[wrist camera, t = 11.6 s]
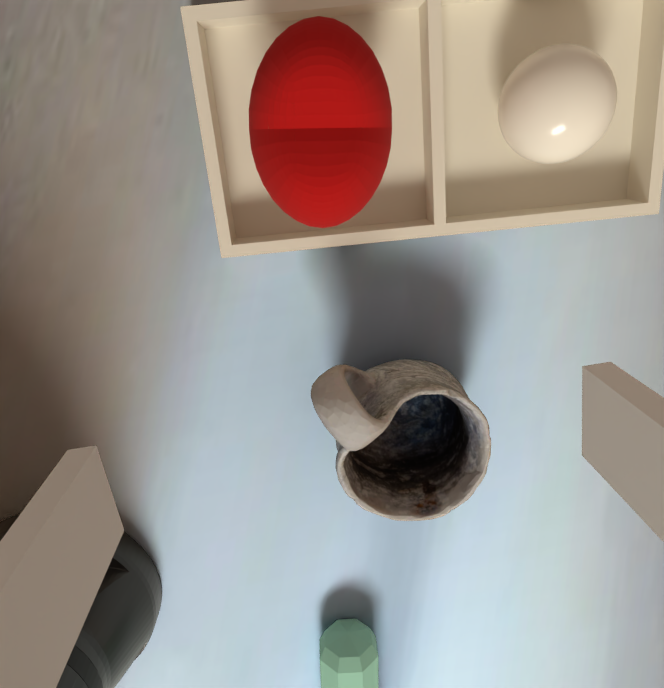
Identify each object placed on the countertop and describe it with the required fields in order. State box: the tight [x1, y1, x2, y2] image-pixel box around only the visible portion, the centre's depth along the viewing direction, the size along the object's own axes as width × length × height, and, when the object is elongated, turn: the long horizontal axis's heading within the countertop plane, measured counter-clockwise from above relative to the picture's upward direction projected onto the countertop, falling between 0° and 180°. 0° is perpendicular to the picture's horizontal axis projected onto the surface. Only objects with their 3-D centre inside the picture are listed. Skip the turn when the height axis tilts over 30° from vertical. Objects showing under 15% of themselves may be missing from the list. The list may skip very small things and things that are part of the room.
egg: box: [498, 43, 617, 164], centre depth 31 cm, size 6×6×6 cm
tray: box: [180, 0, 664, 258], centre depth 33 cm, size 26×13×3 cm, turn 95°
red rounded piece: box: [249, 16, 392, 228], centre depth 29 cm, size 9×7×10 cm
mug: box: [311, 359, 491, 521], centre depth 36 cm, size 10×12×10 cm
